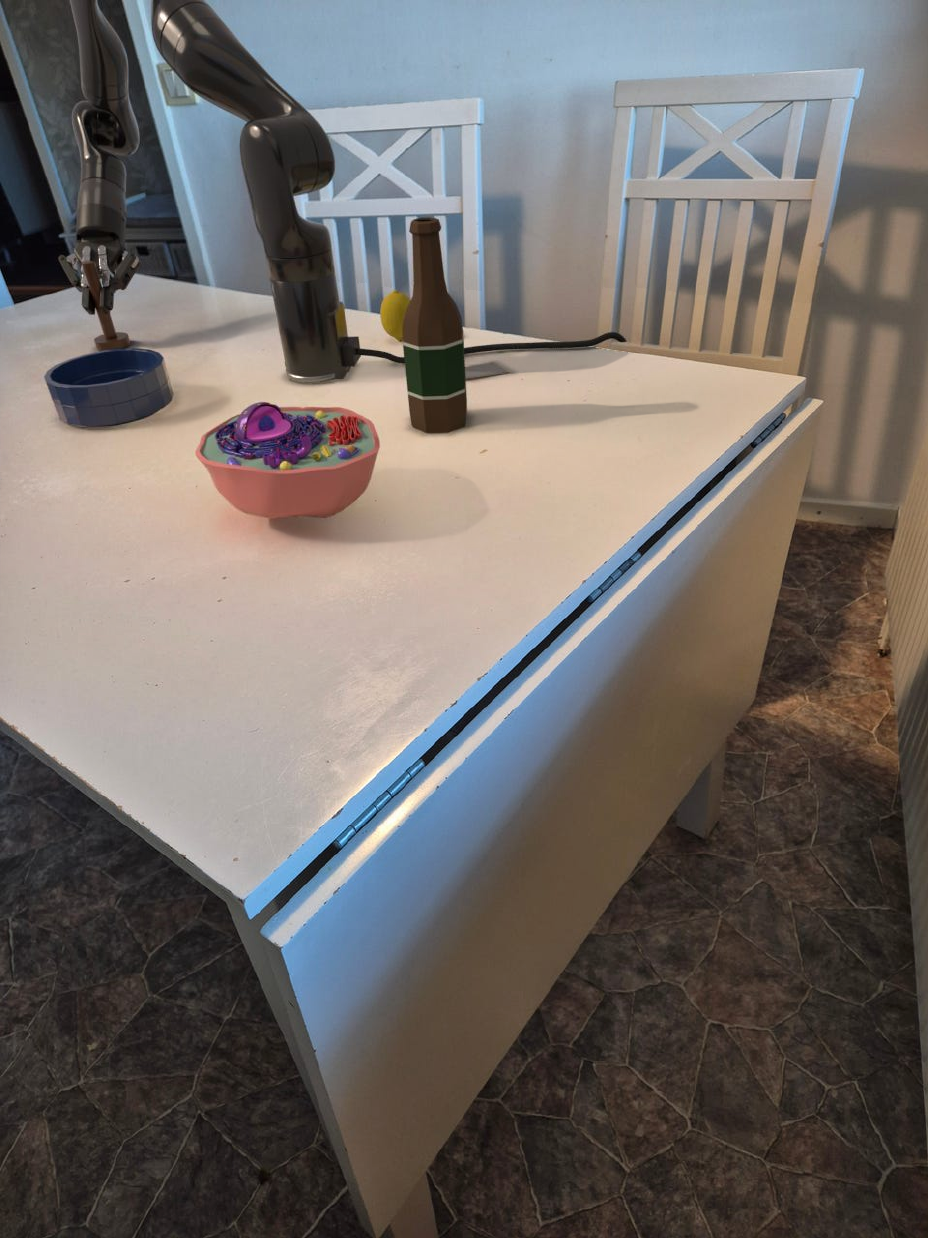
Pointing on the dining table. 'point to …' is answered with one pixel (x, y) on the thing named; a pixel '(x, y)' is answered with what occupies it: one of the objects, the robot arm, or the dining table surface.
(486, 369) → the cleaver
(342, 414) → the cell model
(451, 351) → the beer bottle
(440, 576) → the dining table surface
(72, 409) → the blue round bowl
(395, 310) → the lemon
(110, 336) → the wooden plunger stick
